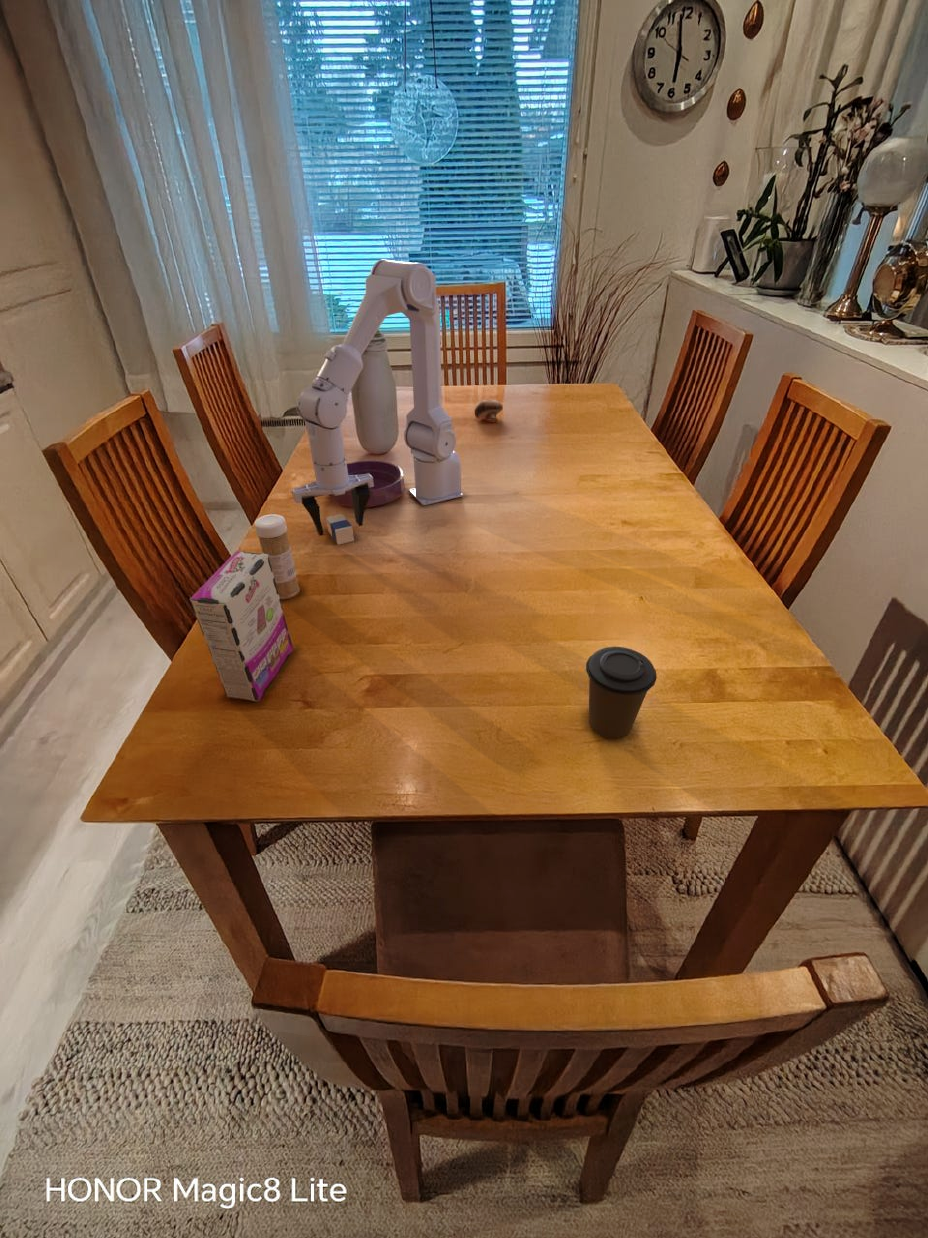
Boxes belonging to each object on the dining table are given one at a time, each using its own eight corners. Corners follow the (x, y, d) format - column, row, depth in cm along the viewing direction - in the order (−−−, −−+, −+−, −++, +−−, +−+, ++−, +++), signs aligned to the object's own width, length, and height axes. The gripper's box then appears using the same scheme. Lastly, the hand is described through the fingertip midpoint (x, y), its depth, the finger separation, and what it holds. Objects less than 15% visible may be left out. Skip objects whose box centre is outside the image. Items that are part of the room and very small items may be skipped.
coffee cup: (657, 728, 73) (673, 668, 67) (611, 758, 69) (624, 697, 63) (608, 690, 78) (620, 632, 72) (564, 717, 75) (572, 657, 69)
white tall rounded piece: (383, 462, 141) (371, 335, 124) (351, 453, 145) (335, 330, 129) (408, 448, 148) (399, 326, 131) (376, 441, 152) (364, 322, 135)
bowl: (388, 472, 136) (386, 455, 134) (416, 499, 125) (415, 481, 123) (319, 486, 131) (317, 469, 128) (342, 516, 119) (340, 497, 117)
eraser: (328, 531, 114) (325, 517, 112) (344, 527, 115) (342, 513, 113) (337, 545, 110) (335, 530, 108) (354, 541, 111) (352, 526, 109)
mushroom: (504, 414, 158) (496, 392, 157) (476, 425, 160) (469, 403, 159) (508, 420, 166) (501, 398, 165) (482, 430, 168) (474, 409, 167)
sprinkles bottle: (286, 582, 100) (270, 510, 92) (306, 590, 98) (291, 517, 90) (266, 595, 97) (247, 522, 89) (285, 603, 95) (268, 529, 87)
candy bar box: (262, 645, 87) (235, 549, 77) (294, 650, 86) (271, 552, 76) (223, 699, 78) (186, 597, 68) (258, 704, 77) (226, 602, 67)
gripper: (294, 475, 98) (308, 547, 106) (376, 459, 103) (383, 528, 111) (283, 461, 103) (297, 530, 111) (362, 446, 108) (370, 513, 116)
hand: (340, 528), depth 111 cm, fingers open, 7 cm apart
